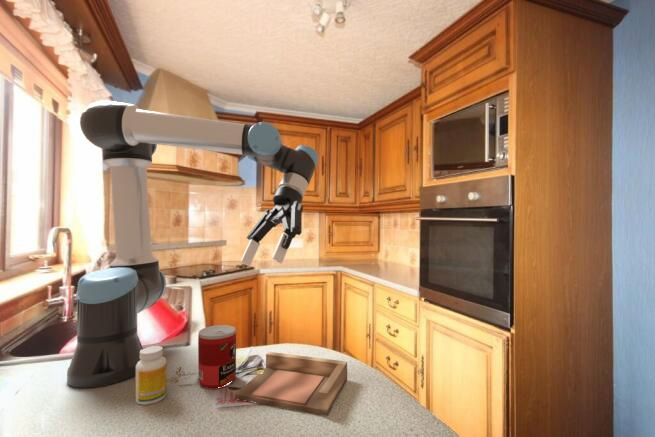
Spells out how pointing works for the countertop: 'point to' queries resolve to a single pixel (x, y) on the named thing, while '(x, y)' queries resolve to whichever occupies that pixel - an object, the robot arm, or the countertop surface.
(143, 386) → the supplement bottle
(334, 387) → the wooden tray
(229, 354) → the canned food
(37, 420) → the countertop surface
